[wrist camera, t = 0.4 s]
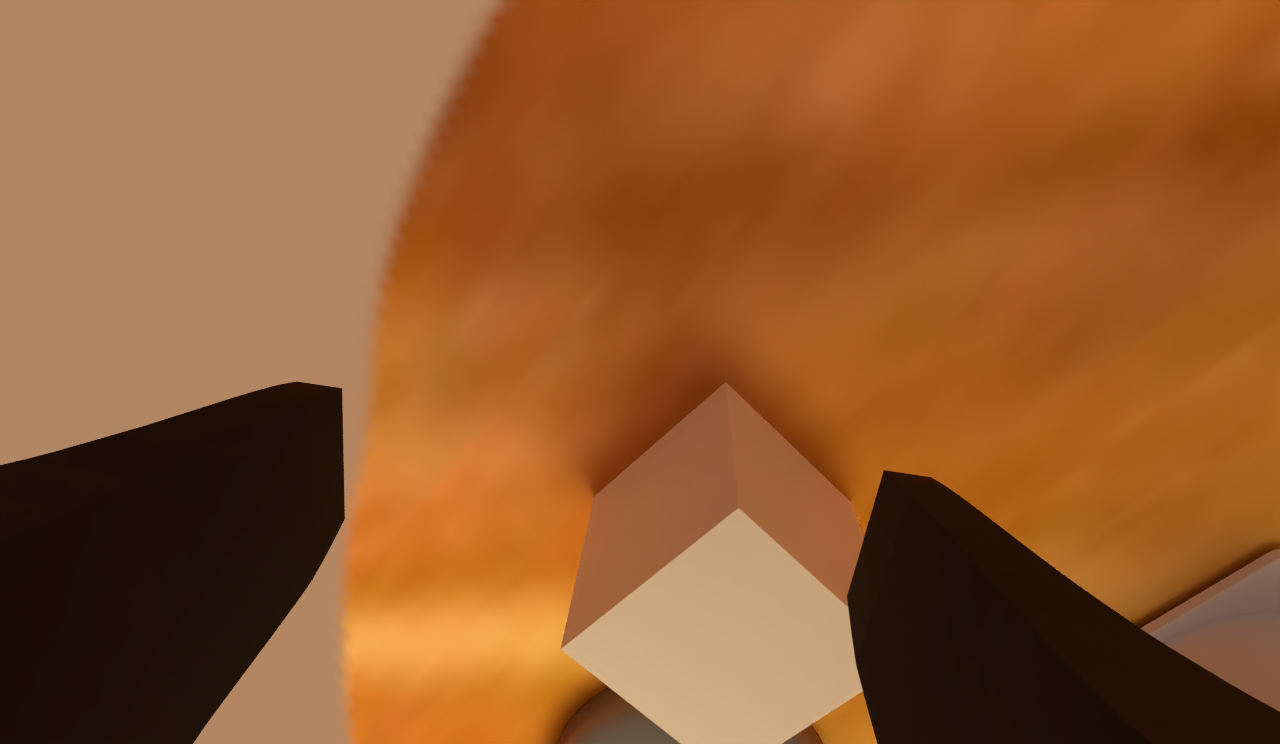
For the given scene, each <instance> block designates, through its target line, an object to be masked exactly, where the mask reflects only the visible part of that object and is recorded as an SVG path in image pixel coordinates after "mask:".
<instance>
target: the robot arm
mask: <svg viewBox="0 0 1280 744" xmlns="http://www.w3.org/2000/svg"><path fill="white" fill-rule="evenodd" d="M342 415H343V413H342V388H336V387H329V386H322V385H315V384H309V383H302V382H292V383H286V384H281V385H276V386H272V387H269V388H265V389H261V390H258V391H254V392H251V393H247V394H244V395H241V396H238V397H234V398H231V399H228V400H225V401H221V402H218V403H215V404H212V405H209V406H206V407H203V408H200V409H196V410H194V411H190V412H187V413H184V414H181V415H178V416H174V417H171V418H168V419H165V420H162V421H159V422H155V423H153V424H149V425H146V426H143V427H139V428H136V429H132V430H129V431H125V432H122V433H118V434H115V435H111V436H108V437H104V438H101V439H97V440H94V441H91V442H87V443H84V444H80V445H76V446H73V447H70V448H67V449H63V450H59V451H56V452H52V453H48V454H44V455H40V456H37V457H33V458H29V459H25V460H21V461H16V462H13V463H8V464H4V465H0V744H193V743H194V741H195V740H196V738H197V737H198V735H199V734H200V733H201V731H202V729H203V728H204V726H205V725H206V724H207V722H208V721H209V720H210V718H211V717H212V716H213V714H214V713H215V712H216V710H217V709H218V708H219V706H220V705H221V704H222V702H223V701H224V699H225V698H226V697H227V696H228V694H229V693H230V691H231V690H232V689H233V687H234V686H235V685H236V683H237V682H238V681H239V679H240V678H241V677H242V675H243V674H244V673H245V671H246V670H247V669H248V667H249V666H250V665H251V663H252V662H253V661H254V659H255V658H256V656H257V655H258V654H259V652H260V651H261V650H262V648H263V647H264V646H265V644H266V643H267V642H268V640H269V639H270V638H271V636H272V635H273V634H274V632H275V631H276V630H277V628H278V627H279V625H280V624H281V623H282V621H283V620H284V619H285V617H286V616H287V614H288V613H289V612H290V610H291V609H292V608H293V606H294V605H295V604H296V602H297V601H298V599H299V598H300V597H301V595H302V594H303V592H304V591H305V590H306V588H307V587H308V585H309V584H310V582H311V581H312V579H313V578H314V576H315V574H316V572H317V570H318V569H319V567H320V565H321V563H322V562H323V560H324V558H325V556H326V554H327V552H328V550H329V549H330V547H331V545H332V543H333V541H334V539H335V537H336V535H337V533H338V531H339V529H340V527H341V525H342V523H343V521H344V519H345V513H344V465H343V464H344V463H343V416H342ZM847 601H848V609H849V618H850V626H851V634H852V641H853V648H854V655H855V661H856V667H857V670H858V674H859V678H860V682H861V686H862V689H863V693H864V697H865V700H866V704H867V708H868V711H869V715H870V718H871V722H872V726H873V729H874V733H875V736H876V740H877V743H878V744H1280V549H1276V550H1273V551H1271V552H1268V553H1266V554H1265V555H1263V556H1261V557H1260V558H1258V559H1256V560H1255V561H1253V562H1251V563H1249V564H1248V565H1246V566H1244V567H1243V568H1241V569H1239V570H1238V571H1236V572H1234V573H1233V574H1231V575H1229V576H1228V577H1226V578H1224V579H1223V580H1221V581H1219V582H1217V583H1216V584H1214V585H1212V586H1211V587H1209V588H1207V589H1206V590H1204V591H1202V592H1201V593H1199V594H1197V595H1196V596H1194V597H1192V598H1191V599H1189V600H1187V601H1186V602H1184V603H1182V604H1180V605H1179V606H1177V607H1175V608H1174V609H1172V610H1170V611H1169V612H1167V613H1165V614H1164V615H1162V616H1160V617H1159V618H1157V619H1155V620H1154V621H1152V622H1150V623H1148V624H1147V625H1145V626H1143V627H1142V628H1139V627H1137V626H1136V625H1134V624H1133V623H1131V622H1130V621H1129V620H1127V619H1126V618H1124V617H1123V616H1121V615H1120V614H1118V613H1117V612H1116V611H1114V610H1113V609H1111V608H1110V607H1108V606H1107V605H1105V604H1104V603H1102V602H1101V601H1100V600H1098V599H1097V598H1095V597H1094V596H1092V595H1091V594H1089V593H1088V592H1087V591H1085V590H1084V589H1082V588H1081V587H1080V586H1078V585H1077V584H1075V583H1074V582H1073V581H1071V580H1070V579H1069V578H1067V577H1066V576H1064V575H1063V574H1062V573H1060V572H1059V571H1058V570H1056V569H1055V568H1054V567H1052V566H1051V565H1050V564H1048V563H1047V562H1046V561H1044V560H1043V559H1042V558H1040V557H1039V556H1038V555H1036V554H1035V553H1034V552H1032V551H1031V550H1030V549H1028V548H1027V547H1026V546H1024V545H1023V544H1022V543H1021V542H1019V541H1018V540H1017V539H1015V538H1014V537H1013V536H1011V535H1010V534H1009V533H1008V532H1006V531H1005V530H1004V529H1002V528H1001V527H1000V526H998V525H997V524H996V523H995V522H993V521H992V520H991V519H989V518H988V517H987V516H985V515H984V514H983V513H982V512H980V511H979V510H978V509H976V508H975V507H974V506H972V505H971V504H970V503H968V502H967V501H966V500H964V499H963V498H962V497H960V496H959V495H957V494H956V493H955V492H953V491H952V490H950V489H949V488H947V487H946V486H944V485H943V484H941V483H940V482H938V481H936V480H934V479H933V478H931V477H925V476H918V475H912V474H905V473H898V472H892V471H885V470H884V472H883V476H882V479H881V482H880V486H879V489H878V493H877V496H876V499H875V503H874V506H873V510H872V513H871V516H870V520H869V523H868V526H867V530H866V533H865V537H864V540H863V543H862V547H861V550H860V554H859V557H858V560H857V564H856V567H855V571H854V574H853V577H852V581H851V584H850V588H849V591H848V594H847Z"/></svg>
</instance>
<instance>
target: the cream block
mask: <svg viewBox="0 0 1280 744" xmlns="http://www.w3.org/2000/svg"><path fill="white" fill-rule="evenodd" d="M863 540H864V536H863V534H862V531H861V528H860V525H859V522H858V519H857V517H856V514H855V511H854V508H853V505H852V502H850V501H849V500H848V499H847V498H846V497H845V496H844V495H843V494H842V493H841V492H840V491H839V490H838V489H837V488H836V487H835V486H834V485H833V484H832V483H831V482H830V481H829V480H828V479H826V478H825V477H824V476H823V475H822V474H821V473H820V472H819V471H818V470H817V469H816V468H815V467H814V466H813V465H812V464H811V463H810V462H809V461H808V460H807V459H806V458H805V457H804V456H802V455H801V454H800V453H799V452H798V451H797V450H796V449H795V448H794V447H793V446H792V445H791V444H790V443H789V442H788V441H787V440H786V439H785V438H784V437H783V436H782V435H781V434H780V433H778V432H777V431H776V430H775V429H774V428H773V427H772V426H771V425H770V424H769V423H768V422H767V421H766V420H765V419H764V418H763V417H762V416H761V415H760V414H759V413H758V412H757V411H756V410H754V409H753V408H752V407H751V406H750V405H749V404H748V403H747V402H746V401H745V400H744V399H743V398H742V397H741V396H740V395H739V394H738V393H737V392H736V391H735V390H734V389H733V388H732V387H731V386H729V385H728V384H727V383H726V382H725V383H724V384H723V385H721V386H720V387H719V388H718V389H717V390H716V391H715V392H713V393H712V394H711V395H710V396H709V397H708V398H707V399H705V400H704V401H703V402H702V403H701V404H700V405H698V406H697V407H696V408H695V409H694V410H693V411H692V412H690V413H689V414H688V415H687V416H686V417H685V418H684V419H682V420H681V421H680V422H679V423H678V424H677V425H675V426H674V427H673V428H672V429H671V430H670V431H669V432H667V433H666V434H665V435H664V436H663V437H662V438H661V439H659V440H658V441H657V442H656V443H655V444H654V445H653V446H651V447H650V448H649V449H648V450H647V451H646V452H644V453H643V454H642V455H641V456H640V457H639V458H638V459H636V460H635V461H634V462H633V463H632V464H631V465H630V466H628V467H627V468H626V469H625V470H624V471H623V472H622V473H620V474H619V475H618V476H617V477H616V478H615V479H613V480H612V481H611V482H610V483H609V484H608V485H607V486H605V487H604V488H603V489H602V490H601V491H600V492H599V493H597V494H596V495H595V496H594V500H593V504H592V509H591V513H590V518H589V522H588V527H587V531H586V536H585V541H584V545H583V550H582V554H581V559H580V563H579V568H578V572H577V577H576V582H575V586H574V591H573V595H572V600H571V604H570V609H569V614H568V618H567V623H566V627H565V632H564V636H563V641H562V645H561V650H562V651H564V652H565V653H566V654H567V655H569V656H570V657H571V658H572V659H574V660H575V661H576V662H578V663H579V664H580V665H581V666H583V667H584V668H585V669H586V670H588V671H589V672H590V673H592V674H593V675H594V676H595V677H597V678H598V679H599V680H600V681H602V682H603V683H604V684H605V685H607V686H608V687H609V688H611V689H612V690H613V691H614V692H616V693H617V694H618V695H619V696H621V697H622V698H623V699H625V700H626V701H627V702H628V703H630V704H631V705H632V706H633V707H635V708H636V709H637V710H638V711H640V712H641V713H642V714H644V715H645V716H646V717H647V718H649V719H650V720H651V721H652V722H654V723H655V724H656V725H658V726H659V727H660V728H661V729H663V730H664V731H665V732H666V733H668V734H669V735H670V736H672V737H673V738H674V739H675V740H677V741H678V742H679V743H680V744H782V743H784V742H785V741H787V740H788V739H790V738H791V737H793V736H794V735H796V734H797V733H799V732H801V731H802V730H804V729H805V728H807V727H808V726H810V725H811V724H813V723H814V722H816V721H818V720H819V719H821V718H822V717H824V716H825V715H827V714H828V713H830V712H831V711H833V710H834V709H836V708H838V707H839V706H841V705H842V704H844V703H845V702H847V701H848V700H850V699H851V698H853V697H855V696H856V695H858V694H859V693H861V692H862V691H863V689H862V686H861V682H860V678H859V674H858V670H857V667H856V661H855V655H854V648H853V641H852V634H851V626H850V618H849V609H848V601H847V594H848V591H849V588H850V584H851V581H852V577H853V574H854V571H855V567H856V564H857V560H858V557H859V554H860V550H861V547H862V543H863Z"/></svg>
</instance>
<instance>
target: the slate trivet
mask: <svg viewBox="0 0 1280 744" xmlns="http://www.w3.org/2000/svg"><path fill="white" fill-rule="evenodd" d="M558 744H680V743H679V742H678V741H677V740H675V739H674V738H673V737H672V736H670V735H669V734H668V733H666V732H665V731H664V730H663V729H661V728H660V727H659V726H658V725H656V724H655V723H654V722H652V721H651V720H650V719H649V718H647V717H646V716H645V715H644V714H642V713H641V712H640V711H638V710H637V709H636V708H635V707H633V706H632V705H631V704H630V703H628V702H627V701H626V700H625V699H623V698H622V697H621V696H619V695H618V694H617V693H616V692H614V691H613V690H612V689H611V688H608V689H606V690H604V691H603V692H601V693H599V694H598V695H596V696H595V697H593V698H592V699H590V700H589V701H588V702H587V703H586V704H585V705H583V706H582V707H581V708H580V709H579V710H578V711H577V712H576V714H575V715H574V716H573V717H572V718H571V719H570V721H569V722H568V724H567V726H566V727H565V729H564V731H563V732H562V735H561V737H560V740H559V742H558ZM782 744H823V743H822V741H821V740H820V738H819V736H818V734H817V732H816V731H815V729H814V728H813V727H812V725H810V726H808V727H807V728H805V729H804V730H802V731H801V732H799V733H797V734H796V735H794V736H793V737H791V738H790V739H788V740H787V741H785V742H784V743H782Z"/></svg>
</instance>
